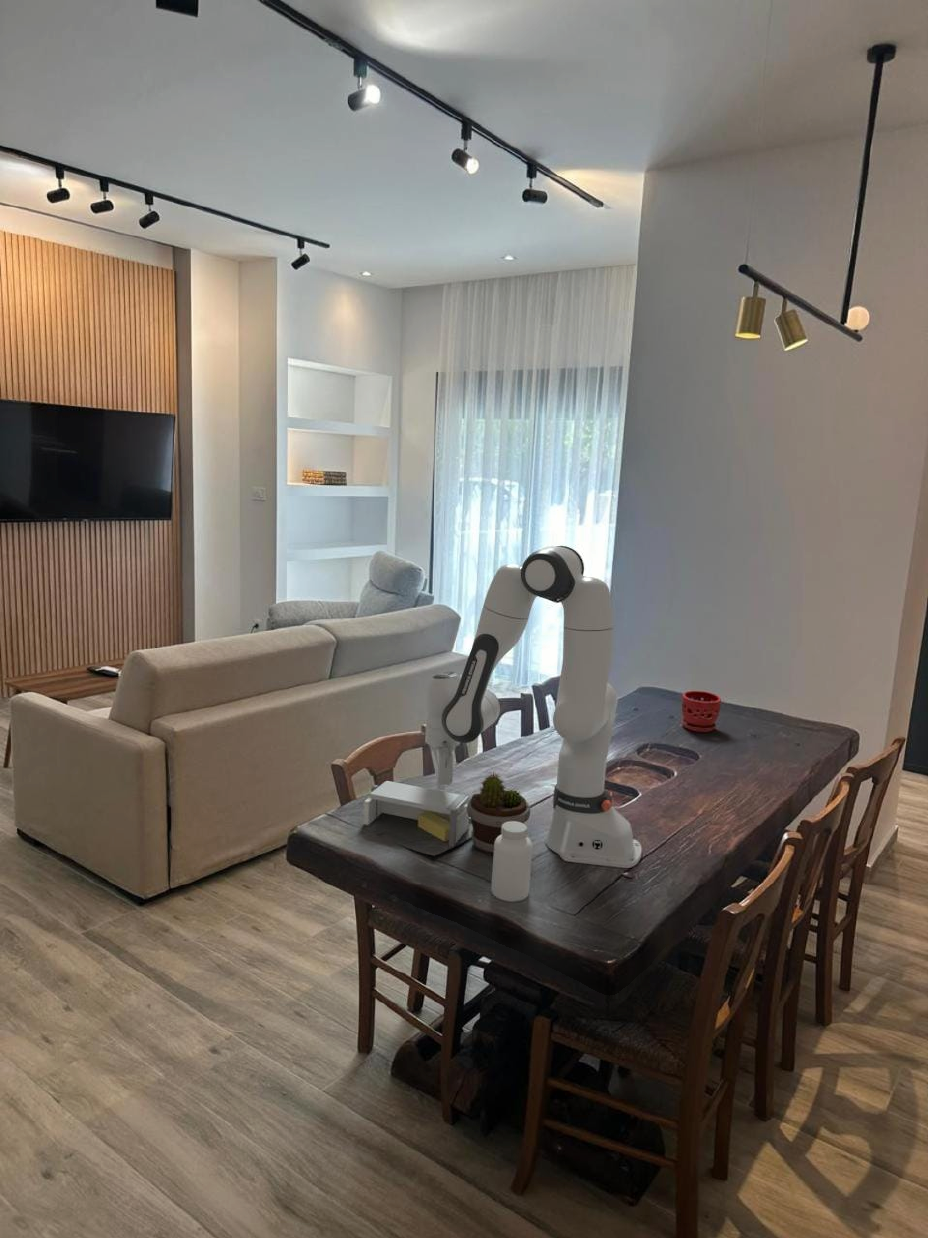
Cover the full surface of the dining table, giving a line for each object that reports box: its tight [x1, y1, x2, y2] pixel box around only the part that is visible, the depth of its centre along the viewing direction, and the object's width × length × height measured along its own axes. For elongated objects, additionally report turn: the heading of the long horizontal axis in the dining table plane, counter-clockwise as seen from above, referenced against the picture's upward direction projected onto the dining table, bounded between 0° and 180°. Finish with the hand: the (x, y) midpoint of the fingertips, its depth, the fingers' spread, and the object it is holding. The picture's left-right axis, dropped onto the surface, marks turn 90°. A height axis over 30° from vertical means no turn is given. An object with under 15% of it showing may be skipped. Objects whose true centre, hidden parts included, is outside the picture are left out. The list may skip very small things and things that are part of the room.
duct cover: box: [369, 780, 470, 814], centre depth 201 cm, size 24×9×1 cm, turn 70°
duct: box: [363, 796, 471, 847], centre depth 201 cm, size 24×11×9 cm, turn 71°
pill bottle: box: [490, 821, 533, 903], centre depth 172 cm, size 8×8×15 cm
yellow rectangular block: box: [417, 811, 450, 842], centre depth 200 cm, size 10×3×3 cm, turn 42°
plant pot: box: [681, 690, 722, 733], centre depth 289 cm, size 13×13×12 cm
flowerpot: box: [467, 770, 531, 856], centre depth 192 cm, size 14×15×20 cm
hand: (440, 787), depth 209 cm, fingers closed
